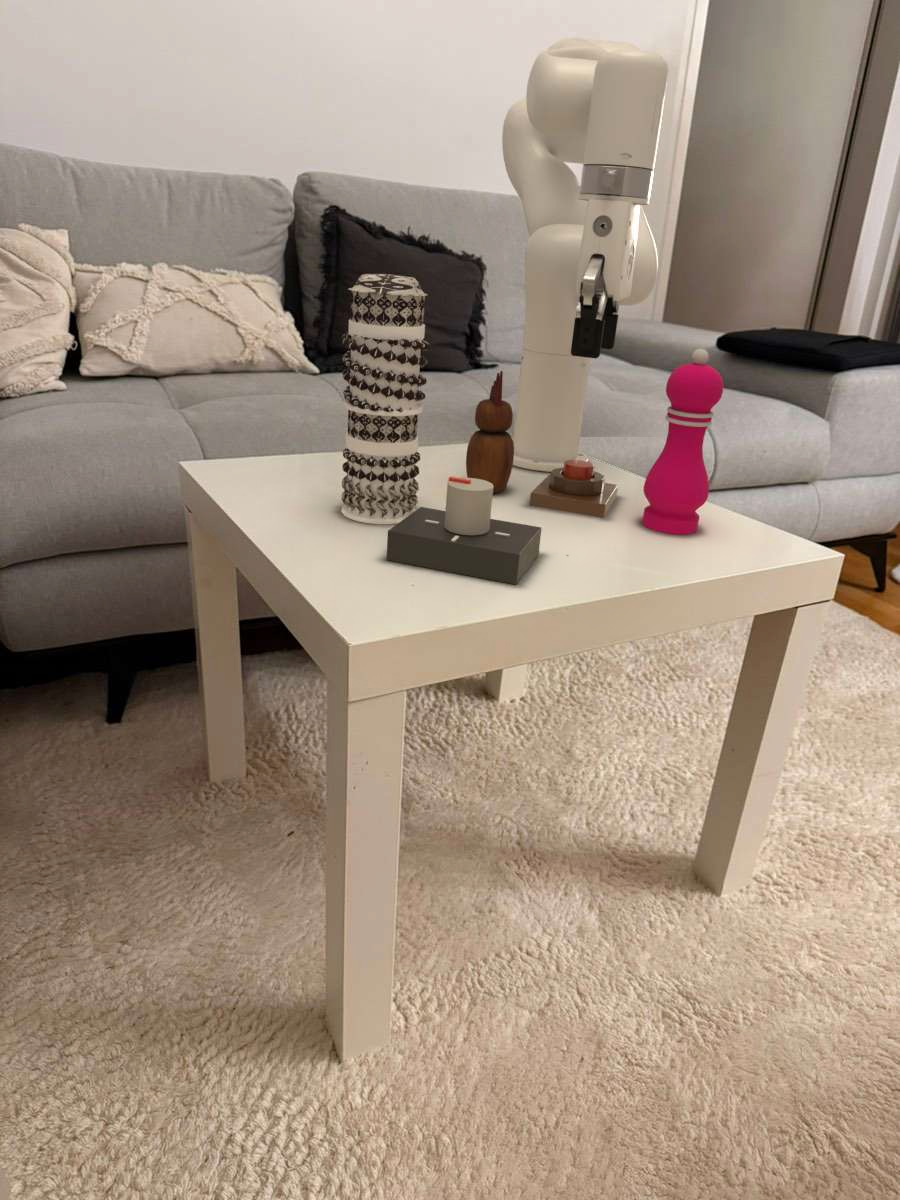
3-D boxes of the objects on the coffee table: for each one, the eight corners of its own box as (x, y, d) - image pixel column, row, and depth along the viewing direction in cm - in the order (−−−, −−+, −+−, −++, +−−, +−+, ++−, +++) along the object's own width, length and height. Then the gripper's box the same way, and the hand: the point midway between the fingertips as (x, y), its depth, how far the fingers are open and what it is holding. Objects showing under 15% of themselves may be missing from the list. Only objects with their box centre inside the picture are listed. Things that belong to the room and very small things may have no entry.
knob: (494, 526, 84) (499, 479, 82) (481, 538, 80) (485, 489, 79) (453, 518, 86) (456, 472, 84) (437, 530, 82) (441, 482, 80)
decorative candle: (361, 529, 90) (369, 277, 80) (324, 504, 97) (328, 270, 87) (435, 520, 94) (451, 281, 85) (394, 497, 101) (406, 274, 92)
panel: (418, 533, 90) (420, 505, 89) (538, 555, 86) (542, 525, 85) (386, 560, 82) (387, 529, 81) (516, 584, 78) (519, 552, 77)
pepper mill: (633, 529, 97) (663, 348, 89) (642, 513, 103) (671, 342, 95) (698, 541, 94) (734, 356, 87) (703, 523, 101) (738, 349, 93)
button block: (547, 486, 111) (550, 460, 110) (616, 497, 109) (620, 470, 107) (529, 506, 102) (532, 477, 101) (603, 518, 100) (607, 489, 98)
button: (565, 471, 106) (567, 458, 106) (594, 476, 105) (596, 462, 105) (560, 478, 103) (561, 464, 102) (589, 482, 102) (591, 468, 101)
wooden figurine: (505, 499, 104) (518, 374, 98) (459, 494, 105) (469, 369, 99) (513, 485, 110) (525, 367, 104) (469, 480, 111) (479, 362, 105)
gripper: (639, 184, 83) (612, 365, 90) (659, 194, 98) (635, 348, 105) (564, 180, 85) (543, 356, 92) (595, 190, 100) (575, 341, 107)
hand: (592, 351), depth 98 cm, fingers open, 9 cm apart
